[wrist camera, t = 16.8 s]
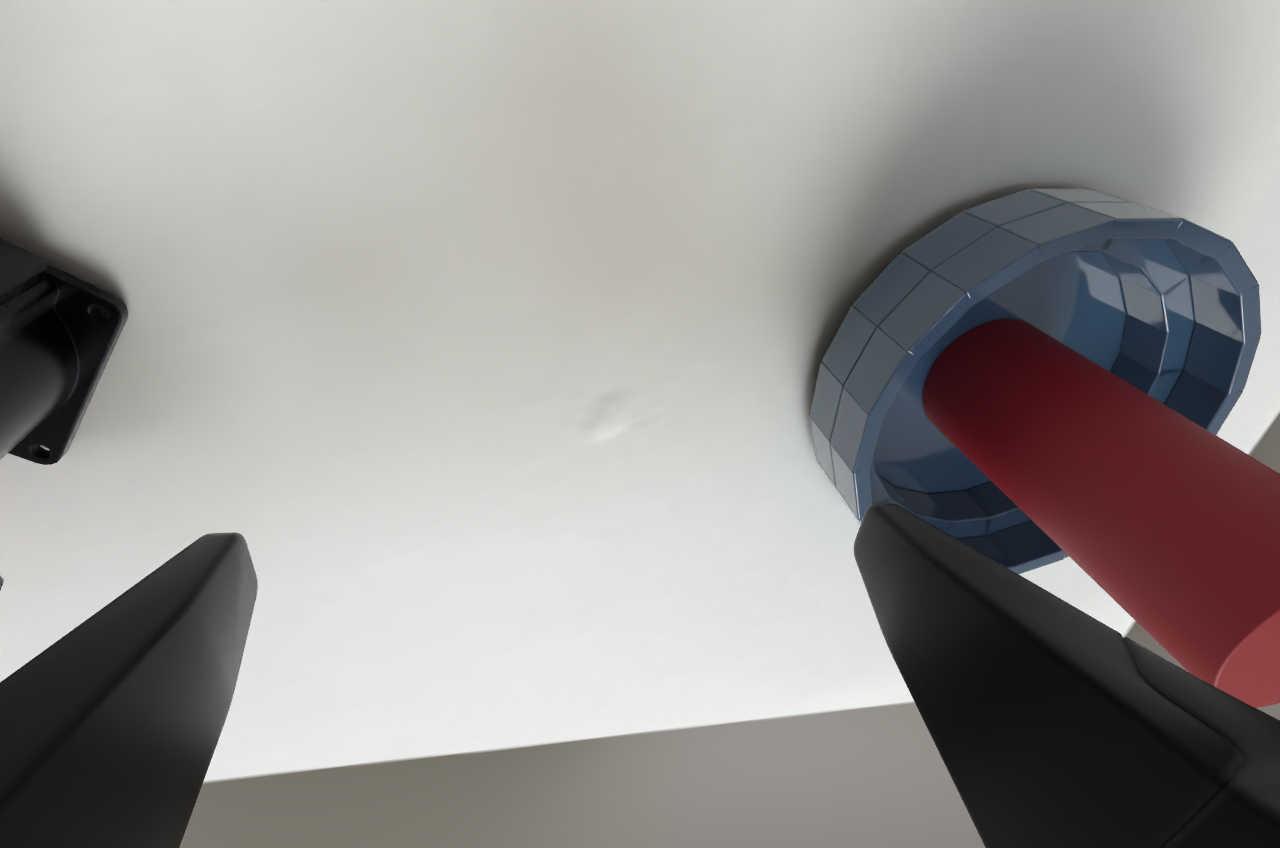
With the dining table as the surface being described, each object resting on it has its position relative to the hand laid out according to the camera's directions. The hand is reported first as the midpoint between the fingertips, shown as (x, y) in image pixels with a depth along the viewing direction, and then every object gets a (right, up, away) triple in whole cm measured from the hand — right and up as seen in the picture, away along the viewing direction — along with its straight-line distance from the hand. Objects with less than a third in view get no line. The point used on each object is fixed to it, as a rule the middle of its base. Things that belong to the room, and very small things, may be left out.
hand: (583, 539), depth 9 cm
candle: (+14, +3, +16) cm, 21 cm away
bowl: (+14, +4, +16) cm, 22 cm away
